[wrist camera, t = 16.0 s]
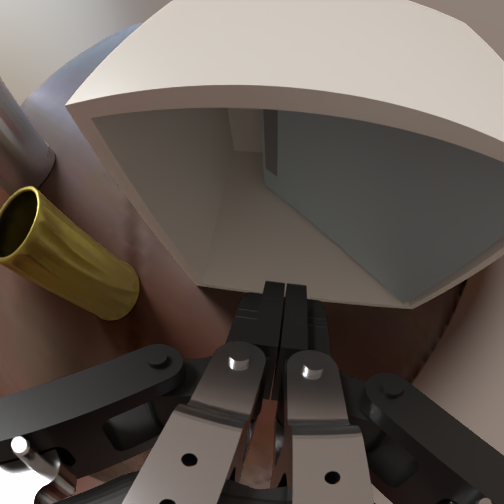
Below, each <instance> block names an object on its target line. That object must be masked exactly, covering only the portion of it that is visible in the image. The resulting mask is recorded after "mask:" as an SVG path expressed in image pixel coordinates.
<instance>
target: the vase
mask: <svg viewBox="0 0 504 504" xmlns="http://www.w3.org/2000/svg"><path fill="white" fill-rule="evenodd" d="M0 264H1V265H3V266H5V267H7V268H8V269H10V270H12V271H14V272H15V273H17V274H19V275H21V276H23V277H24V278H26V279H28V280H30V281H32V282H34V283H36V284H37V285H39V286H41V287H43V288H45V289H46V290H48V291H50V292H52V293H54V294H56V295H58V296H60V297H62V298H64V299H66V300H67V301H69V302H71V303H73V304H76V305H78V306H79V307H81V308H83V309H85V310H87V311H89V312H91V313H93V314H96V315H97V316H98V317H100V318H101V319H104V320H117V319H120V318H122V317H124V316H125V315H127V314H128V313H129V312H130V311H131V309H132V308H133V307H134V305H135V303H136V301H137V298H138V295H139V279H138V276H137V274H136V272H135V270H134V269H133V267H132V266H131V265H129V264H128V263H126V262H124V261H122V260H120V259H118V258H117V257H116V256H114V255H113V254H112V253H110V252H109V251H108V250H107V249H106V248H104V247H103V246H102V245H101V244H99V243H98V242H97V241H95V240H94V239H93V238H92V237H90V236H89V235H88V234H87V233H85V232H84V231H83V230H81V229H80V228H79V227H77V226H76V225H75V224H74V223H73V222H72V221H71V220H70V219H69V218H68V217H67V216H65V215H64V214H63V213H62V212H61V211H60V210H59V209H58V208H57V207H55V206H54V205H53V204H52V203H51V202H50V201H49V200H48V199H47V198H46V197H45V196H44V195H43V194H42V193H41V192H40V191H39V190H37V189H36V188H35V187H33V186H28V187H24V188H21V189H19V190H18V191H16V192H15V193H14V194H13V195H12V196H11V197H10V198H9V199H8V200H7V201H6V202H5V204H4V205H3V207H2V208H1V210H0Z"/></svg>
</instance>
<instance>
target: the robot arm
mask: <svg viewBox="0 0 504 504" xmlns="http://www.w3.org/2000/svg"><path fill="white" fill-rule="evenodd" d="M54 161H55V154H54V152H53V150H52V149H51V148H50V146H49V145H48V144H47V142H46V141H45V140H44V139H43V137H42V136H41V135H40V133H39V132H38V131H37V129H36V128H35V127H34V125H33V124H32V123H31V121H30V120H29V119H28V117H27V116H26V114H25V113H24V112H23V110H22V109H21V107H20V106H19V105H18V103H17V102H16V100H15V99H14V97H13V96H12V94H11V93H10V92H9V90H8V89H7V87H6V86H5V84H4V82H3V81H2V79H1V78H0V187H1V188H2V189H3V190H4V191H5V192H6V193H8V194H9V195H10V196H12V195H13V194H14V193H15V192H16V191H18V190H19V189H21V188H24V187H28V186H33V187H35V188H36V189H37V188H38V187H39V186H40V185H41V184H42V183H43V181H44V180H45V179H46V177H47V176H48V174H49V173H50V171H51V169H52V167H53V164H54ZM284 290H285V283H281V282H273V281H265V285H264V290H263V294H261V293H254V292H249V293H248V294H246V295H245V296H244V297H243V298H241V301H240V303H239V306H238V309H237V312H236V315H235V318H234V321H233V323H232V326H231V329H230V332H229V335H228V338H227V341H226V343H225V344H223V345H221V346H220V347H219V348H218V349H217V350H216V351H215V352H214V354H213V356H210V357H207V358H201V359H183V358H182V355H181V354H180V352H179V351H178V350H177V349H175V348H173V347H171V346H169V345H164V344H153V345H148V346H145V347H143V348H140V349H138V350H135V351H133V352H130V353H127V354H125V355H122V356H120V357H117V358H114V359H112V360H109V361H107V362H104V363H101V364H99V365H96V366H93V367H90V368H88V369H85V370H82V371H79V372H77V373H74V374H71V375H68V376H65V377H63V378H60V379H57V380H54V381H51V382H48V383H45V384H42V385H39V386H36V387H33V388H30V389H27V390H24V391H21V392H17V393H14V394H11V395H8V396H4V397H1V398H0V504H375V503H374V502H373V495H372V488H371V483H372V484H373V485H374V486H375V487H376V488H377V489H378V490H379V491H380V492H381V493H382V494H383V495H384V496H385V497H387V498H388V499H389V500H390V501H391V502H392V503H393V504H504V456H503V455H502V454H501V453H499V452H498V451H497V450H496V449H494V448H493V447H492V446H490V445H489V444H488V443H486V442H485V441H484V440H482V439H481V438H480V437H478V436H477V435H476V434H474V433H473V432H472V431H471V430H469V429H468V428H467V427H465V426H464V425H463V424H462V423H460V422H459V421H458V420H456V419H455V418H454V417H453V416H451V415H450V414H449V413H447V412H446V411H445V410H444V409H442V408H441V407H440V406H438V405H437V404H436V403H434V402H433V401H432V400H431V399H429V398H428V397H427V396H425V395H424V394H423V393H422V392H420V391H419V390H418V389H416V388H415V387H414V386H413V385H411V384H410V383H409V382H407V381H406V380H405V379H404V378H402V377H400V376H398V375H396V374H393V373H378V374H375V375H373V376H372V377H371V378H370V379H369V380H368V381H367V382H366V381H362V380H359V379H356V378H352V377H350V376H347V375H345V374H344V373H342V372H341V371H339V370H338V366H337V364H336V362H335V361H334V360H333V359H332V358H331V353H330V343H329V333H328V328H327V327H328V324H327V315H326V309H325V307H324V306H323V305H322V303H321V302H320V301H319V300H312V299H307V286H306V285H299V284H290V283H287V285H286V292H285V299H284ZM283 299H284V306H283ZM282 309H283V313H282ZM281 318H282V320H281ZM277 351H278V352H277ZM276 357H277V360H276ZM275 363H276V368H275ZM274 369H275V375H274ZM273 375H274V383H273V390H272V397H271V400H277V401H278V405H277V412H276V416H275V421H274V446H273V468H272V477H271V482H270V489H254V488H250V487H248V486H245V485H242V484H240V483H239V482H240V478H241V474H242V470H243V466H244V462H245V459H246V456H247V453H248V449H249V446H250V443H251V439H252V436H253V433H254V429H255V426H256V422H257V418H258V415H259V414H260V411H261V407H262V401H263V399H268V400H269V397H270V392H271V386H272V380H273ZM151 448H152V450H151V452H150V454H149V456H148V457H147V459H146V461H145V463H144V465H143V466H142V468H141V470H140V471H137V472H132V473H129V474H126V475H122V476H120V477H118V478H115V479H113V480H111V481H109V482H107V483H104V484H102V485H100V486H97V487H95V488H92V489H90V490H88V491H85V492H83V493H80V494H77V495H75V496H72V495H74V494H75V491H76V482H77V481H76V479H79V478H81V477H84V476H87V475H90V474H92V473H95V472H98V471H100V470H103V469H105V468H108V467H110V466H113V465H115V464H117V463H120V462H122V461H125V460H127V459H129V458H131V457H134V456H136V455H138V454H140V453H142V452H144V451H147V450H149V449H151ZM69 496H72V497H69ZM67 497H69V498H67ZM65 498H66V499H65ZM63 499H64V500H63Z"/></svg>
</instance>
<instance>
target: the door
mask: <svg viewBox="0 0 504 504" xmlns="http://www.w3.org/2000/svg"><path fill="white" fill-rule="evenodd" d="M260 111H261V129H262V148H263V168H264V185H265V186H267V187H268V188H269V189H270V190H272V191H273V192H274V193H276V194H277V195H278V196H279V197H281V198H282V199H283V200H284V201H286V202H287V203H288V204H289V205H291V206H292V207H293V208H294V209H296V210H297V211H298V212H299V213H300V214H302V215H303V216H304V217H305V218H306V219H308V220H309V221H310V222H311V223H312V224H314V225H315V226H316V227H317V228H318V229H320V230H321V231H322V232H323V233H324V234H326V235H327V236H328V237H329V238H330V239H331V240H333V241H334V242H335V243H336V244H337V245H338V246H340V247H341V248H342V249H343V250H344V251H345V252H346V253H348V254H349V255H350V256H351V257H352V258H353V259H354V260H355V261H357V262H358V263H359V264H360V265H361V266H362V267H363V268H364V269H366V270H367V271H368V272H369V273H370V274H371V275H372V276H373V277H374V278H375V279H377V280H378V281H379V282H380V283H381V284H382V285H383V286H384V287H385V288H386V289H387V290H388V291H389V292H391V293H392V294H393V295H394V296H395V297H396V298H397V299H398V300H399V301H400V302H401V303H402V304H404V303H406V302H408V301H409V300H411V299H413V298H414V297H416V296H418V295H419V294H421V293H423V292H424V291H426V290H427V289H429V288H431V287H432V286H434V285H435V284H437V283H439V282H440V281H442V280H443V279H445V278H446V277H448V276H449V275H451V274H452V273H454V272H455V271H457V270H458V269H460V268H461V267H463V266H464V265H465V264H467V263H468V262H470V261H471V260H473V259H474V258H475V257H477V256H478V255H479V254H481V253H482V252H484V251H485V250H486V249H488V248H489V247H490V246H492V245H493V244H494V243H495V242H497V241H498V240H499V239H501V238H502V237H503V236H504V162H502V161H499V160H497V159H494V158H492V157H489V156H487V155H484V154H481V153H479V152H476V151H473V150H471V149H468V148H465V147H462V146H459V145H456V144H453V143H450V142H447V141H443V140H440V139H437V138H433V137H430V136H426V135H423V134H419V133H415V132H411V131H407V130H403V129H399V128H395V127H391V126H386V125H381V124H376V123H371V122H366V121H361V120H355V119H349V118H343V117H337V116H330V115H323V114H315V113H306V112H296V111H285V110H272V109H260Z"/></svg>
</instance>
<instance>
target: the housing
mask: <svg viewBox="0 0 504 504" xmlns="http://www.w3.org/2000/svg"><path fill="white" fill-rule="evenodd" d="M65 107H66V108H67V110H68V111H69V113H70V115H71V116H72V118H73V119H74V121H75V123H76V124H77V126H78V127H79V129H80V130H81V132H82V133H83V135H84V136H85V138H86V139H87V141H88V142H89V144H90V145H91V147H92V148H93V150H94V151H95V153H96V154H97V156H98V157H99V159H100V160H101V162H102V163H103V164H104V166H105V167H106V169H107V170H108V172H109V173H110V174H111V176H112V177H113V179H114V180H115V181H116V183H117V184H118V186H119V187H120V188H121V190H122V191H123V193H124V194H125V195H126V197H127V198H128V199H129V201H130V202H131V203H132V205H133V206H134V207H135V209H136V210H137V211H138V213H139V214H140V215H141V217H142V218H143V219H144V221H145V222H146V223H147V225H148V226H149V227H150V229H151V230H152V231H153V232H154V234H155V235H156V236H157V238H158V239H159V240H160V241H161V243H162V244H163V245H164V246H165V248H166V249H167V250H168V251H169V253H170V254H171V255H172V256H173V258H174V259H175V260H176V261H177V263H178V264H179V265H180V266H181V268H182V269H183V270H184V271H185V272H186V274H187V275H188V276H189V277H190V278H191V280H192V281H193V282H194V283H195V284H196V285H197V286H204V287H211V288H218V289H225V290H232V291H239V292H247V293H249V292H254V293H261V294H263V290H264V285H265V281H273V282H281V283H285V290H284V297H285V292H286V285H287V283H290V284H299V285H306V286H307V299H312V300H319V301H323V302H332V303H343V304H353V305H365V306H376V307H389V308H402V309H414V308H416V307H418V306H420V305H422V304H423V303H425V302H427V301H429V300H431V299H433V298H435V297H436V296H438V295H440V294H442V293H444V292H445V291H447V290H449V289H451V288H452V287H454V286H456V285H457V284H459V283H461V282H463V281H464V280H466V279H467V278H469V277H471V276H472V275H474V274H475V273H477V272H479V271H480V270H482V269H483V268H485V267H486V266H488V265H489V264H491V263H493V262H494V261H495V260H497V259H499V258H500V257H501V256H503V255H504V236H503V237H502V238H501V239H499V240H498V241H497V242H495V243H494V244H493V245H492V246H490V247H489V248H488V249H486V250H485V251H484V252H482V253H481V254H479V255H478V256H477V257H475V258H474V259H473V260H471V261H470V262H468V263H467V264H465V265H464V266H463V267H461V268H460V269H458V270H457V271H455V272H454V273H452V274H451V275H449V276H448V277H446V278H445V279H443V280H442V281H440V282H439V283H437V284H435V285H434V286H432V287H431V288H429V289H427V290H426V291H424V292H423V293H421V294H419V295H418V296H416V297H414V298H413V299H411V300H409V301H408V302H406V303H404V304H402V303H401V302H400V301H399V300H398V299H397V298H396V297H395V296H394V295H393V294H392V293H391V292H389V291H388V290H387V289H386V288H385V287H384V286H383V285H382V284H381V283H380V282H379V281H378V280H377V279H375V278H374V277H373V276H372V275H371V274H370V273H369V272H368V271H367V270H366V269H364V268H363V267H362V266H361V265H360V264H359V263H358V262H357V261H355V260H354V259H353V258H352V257H351V256H350V255H349V254H348V253H346V252H345V251H344V250H343V249H342V248H341V247H340V246H338V245H337V244H336V243H335V242H334V241H333V240H331V239H330V238H329V237H328V236H327V235H326V234H324V233H323V232H322V231H321V230H320V229H318V228H317V227H316V226H315V225H314V224H312V223H311V222H310V221H309V220H308V219H306V218H305V217H304V216H303V215H302V214H300V213H299V212H298V211H297V210H296V209H294V208H293V207H292V206H291V205H289V204H288V203H287V202H286V201H284V200H283V199H282V198H281V197H279V196H278V195H277V194H276V193H274V192H273V191H272V190H270V189H269V188H268V187H267V186H265V185H264V168H263V148H262V129H261V111H260V109H272V110H285V111H296V112H306V113H315V114H323V115H330V116H337V117H343V118H349V119H355V120H361V121H366V122H371V123H376V124H381V125H386V126H391V127H395V128H399V129H403V130H407V131H411V132H415V133H419V134H423V135H426V136H430V137H433V138H437V139H440V140H443V141H447V142H450V143H453V144H456V145H459V146H462V147H465V148H468V149H471V150H473V151H476V152H479V153H481V154H484V155H487V156H489V157H492V158H494V159H497V160H499V161H502V162H504V61H503V60H502V59H501V58H500V57H499V56H498V55H497V54H496V53H495V52H494V50H493V49H491V48H490V46H488V44H487V43H486V42H484V41H483V39H482V38H481V37H479V36H478V35H477V34H476V33H475V32H474V31H473V30H472V29H471V28H470V27H469V26H468V25H466V24H465V23H464V22H462V21H459V20H457V19H455V18H453V17H451V16H448V15H446V14H444V13H441V12H438V11H436V10H434V9H431V8H428V7H426V6H423V5H420V4H417V3H414V2H411V1H408V0H173V1H171V2H170V3H168V4H167V5H166V6H164V7H163V8H162V9H160V10H159V11H158V12H157V13H155V14H154V15H153V16H152V17H150V18H149V19H148V20H147V21H145V22H144V23H143V24H142V25H141V26H139V27H138V28H137V29H136V30H135V31H134V32H133V33H132V34H130V35H129V36H128V37H127V38H126V39H125V40H124V41H123V42H122V43H121V44H120V45H119V46H117V47H116V48H115V49H114V50H113V51H112V52H111V53H110V54H109V55H108V56H107V57H106V58H105V59H104V60H103V62H102V63H101V64H100V65H99V66H98V67H97V68H96V69H95V70H94V71H93V72H92V73H91V75H90V76H89V77H88V78H87V79H86V80H85V81H84V82H83V84H82V85H81V86H80V87H79V88H78V90H77V91H76V92H75V93H74V94H73V96H72V97H71V98H70V100H69V101H68V102H67V103H66V105H65Z"/></svg>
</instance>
